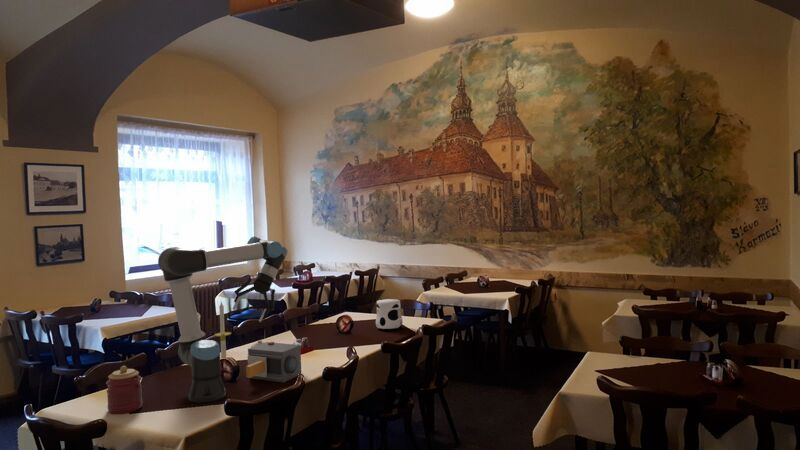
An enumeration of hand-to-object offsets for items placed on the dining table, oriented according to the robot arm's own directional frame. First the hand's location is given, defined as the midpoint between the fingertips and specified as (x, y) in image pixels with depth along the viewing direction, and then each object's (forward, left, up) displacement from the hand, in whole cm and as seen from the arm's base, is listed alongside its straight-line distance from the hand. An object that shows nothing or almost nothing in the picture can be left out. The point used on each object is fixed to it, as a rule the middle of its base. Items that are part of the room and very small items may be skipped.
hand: (246, 315), depth 270 cm
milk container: (+117, -16, -30) cm, 122 cm away
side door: (-7, -7, -27) cm, 29 cm away
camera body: (+7, -10, -30) cm, 32 cm away
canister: (-51, +21, -30) cm, 63 cm away
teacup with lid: (+25, +12, -30) cm, 41 cm away
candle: (+17, +31, -30) cm, 46 cm away
